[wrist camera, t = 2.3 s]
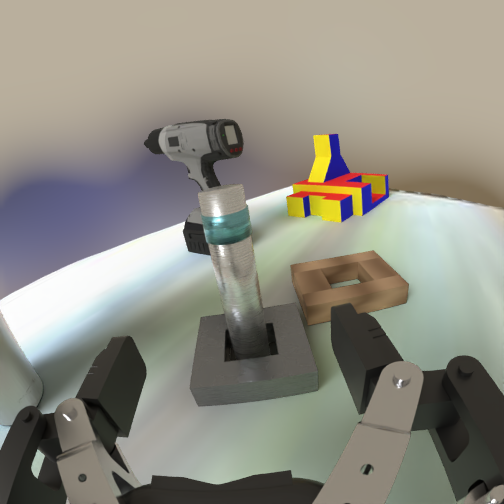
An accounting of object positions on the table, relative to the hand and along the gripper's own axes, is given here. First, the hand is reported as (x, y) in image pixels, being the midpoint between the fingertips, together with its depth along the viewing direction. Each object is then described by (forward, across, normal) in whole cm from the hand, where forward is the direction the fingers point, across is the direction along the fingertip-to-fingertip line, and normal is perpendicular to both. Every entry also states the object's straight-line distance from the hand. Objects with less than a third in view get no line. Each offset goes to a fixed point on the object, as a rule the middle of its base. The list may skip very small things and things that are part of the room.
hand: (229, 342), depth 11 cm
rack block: (+20, -12, +12) cm, 26 cm away
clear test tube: (+12, 0, +12) cm, 17 cm away
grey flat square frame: (+12, 0, +12) cm, 17 cm away
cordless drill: (+46, +8, +12) cm, 48 cm away
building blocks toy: (+60, -24, +12) cm, 66 cm away
